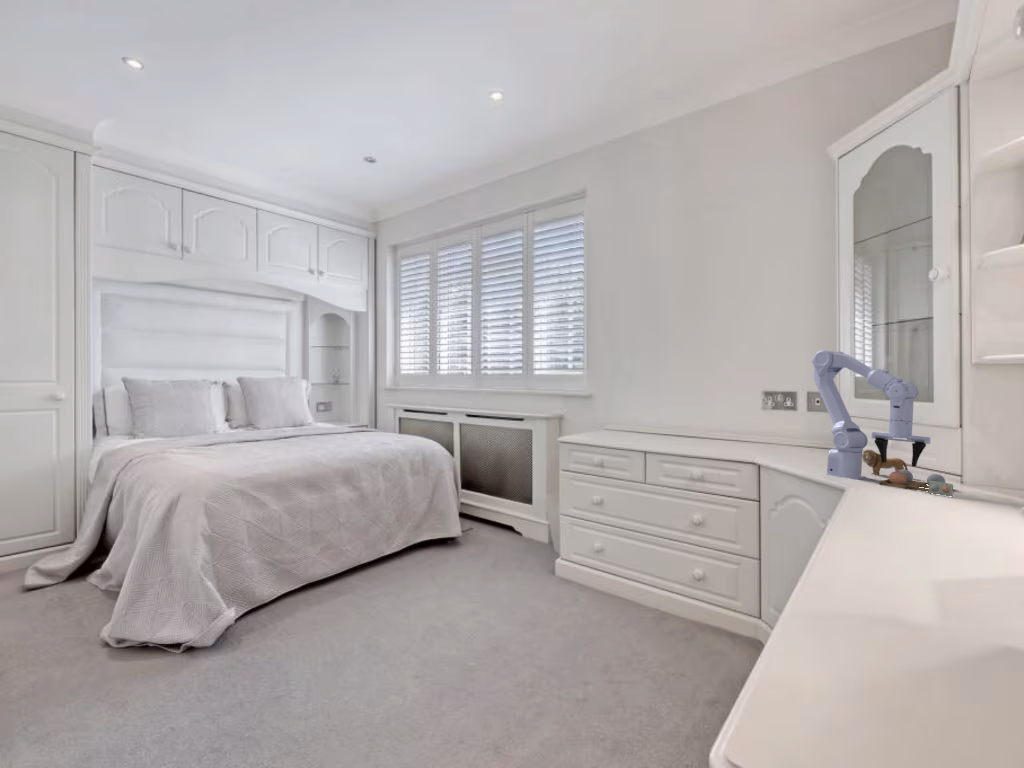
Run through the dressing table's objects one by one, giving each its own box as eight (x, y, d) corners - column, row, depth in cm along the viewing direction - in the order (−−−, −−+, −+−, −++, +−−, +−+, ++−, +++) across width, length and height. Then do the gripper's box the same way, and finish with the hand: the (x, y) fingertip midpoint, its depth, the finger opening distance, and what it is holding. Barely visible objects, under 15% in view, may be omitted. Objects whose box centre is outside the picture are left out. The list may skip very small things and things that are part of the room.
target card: (928, 494, 148) (929, 480, 148) (928, 494, 149) (929, 480, 148) (951, 498, 144) (952, 484, 144) (952, 498, 145) (952, 483, 144)
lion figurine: (863, 475, 177) (865, 449, 177) (859, 473, 182) (860, 448, 182) (914, 480, 172) (916, 453, 172) (908, 477, 177) (909, 451, 177)
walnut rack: (879, 485, 159) (879, 481, 159) (893, 480, 169) (893, 477, 169) (942, 495, 148) (943, 491, 148) (953, 490, 157) (954, 486, 157)
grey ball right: (924, 487, 158) (925, 473, 158) (928, 486, 160) (929, 472, 160) (943, 490, 154) (944, 475, 154) (946, 488, 157) (947, 474, 157)
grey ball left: (893, 482, 164) (894, 468, 164) (897, 481, 167) (898, 467, 167) (910, 485, 160) (911, 471, 160) (914, 483, 163) (915, 470, 163)
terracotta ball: (886, 484, 159) (887, 470, 159) (890, 483, 162) (891, 469, 162) (904, 487, 156) (904, 473, 156) (908, 486, 159) (908, 472, 159)
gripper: (869, 418, 162) (867, 461, 162) (927, 423, 151) (924, 468, 151) (876, 418, 166) (874, 460, 166) (932, 422, 155) (930, 467, 155)
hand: (898, 464), depth 159 cm, fingers open, 7 cm apart
